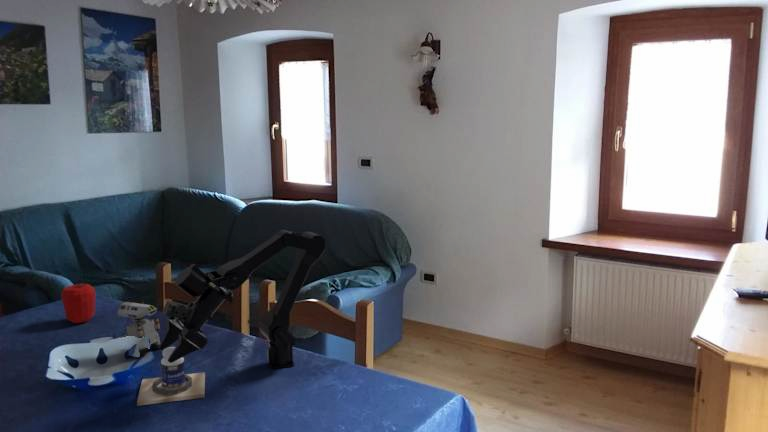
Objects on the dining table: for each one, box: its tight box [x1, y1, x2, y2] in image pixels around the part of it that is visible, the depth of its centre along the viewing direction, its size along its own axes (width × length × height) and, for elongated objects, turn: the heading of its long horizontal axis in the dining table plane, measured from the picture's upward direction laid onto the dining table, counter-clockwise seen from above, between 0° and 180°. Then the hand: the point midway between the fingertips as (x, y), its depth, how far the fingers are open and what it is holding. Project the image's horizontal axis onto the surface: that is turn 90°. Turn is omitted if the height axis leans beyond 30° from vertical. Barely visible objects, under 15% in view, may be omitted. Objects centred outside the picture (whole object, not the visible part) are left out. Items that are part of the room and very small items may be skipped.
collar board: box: [136, 371, 206, 407], centre depth 162 cm, size 16×13×2 cm
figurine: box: [112, 301, 161, 350], centre depth 186 cm, size 9×12×15 cm
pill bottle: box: [160, 346, 185, 389], centre depth 161 cm, size 6×6×10 cm
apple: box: [61, 282, 96, 325], centre depth 211 cm, size 11×10×14 cm
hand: (164, 355), depth 160 cm, fingers open, 9 cm apart
